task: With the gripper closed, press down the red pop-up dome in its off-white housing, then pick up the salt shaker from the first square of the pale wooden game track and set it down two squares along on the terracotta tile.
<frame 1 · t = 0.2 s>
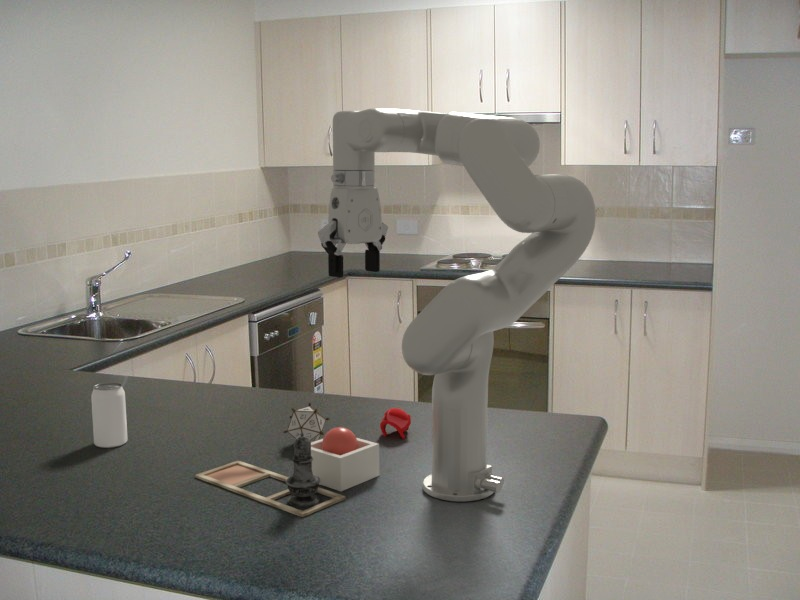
hand: (354, 273, 164), 36 cm above the worktop, tool pointing down, fingers open, 9 cm apart
game die: (307, 445, 179), on the worktop
dome housing: (340, 476, 161), on the worktop
can: (111, 444, 180), on the worktop
game track: (267, 487, 156), on the worktop
pop dome: (339, 445, 160), point 6 cm above the worktop, slide at 0.0 cm
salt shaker: (303, 501, 150), resting in game track
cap: (396, 436, 185), on the worktop
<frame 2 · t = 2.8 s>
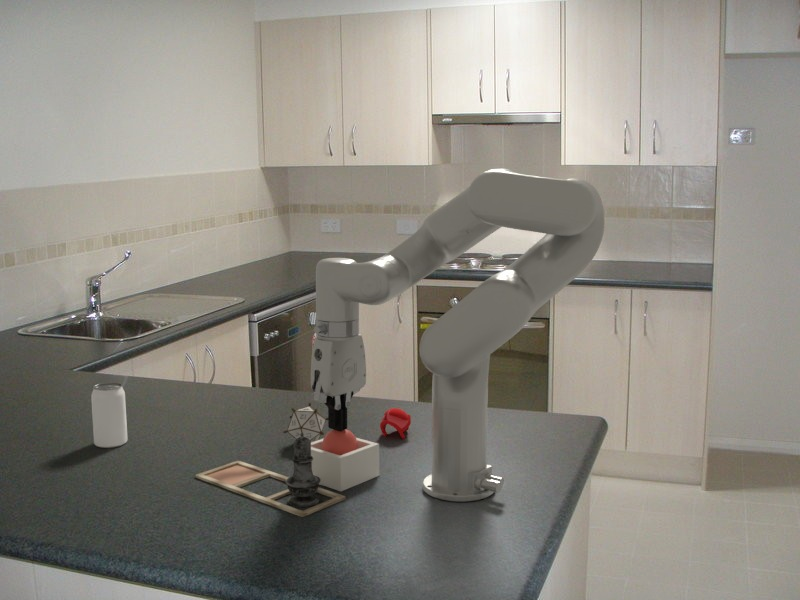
hand: (337, 428, 160), 9 cm above the worktop, tool pointing down, fingers closed
pop dome: (339, 446, 160), point 6 cm above the worktop, slide at 0.2 cm, touching gripper
everything else where it was.
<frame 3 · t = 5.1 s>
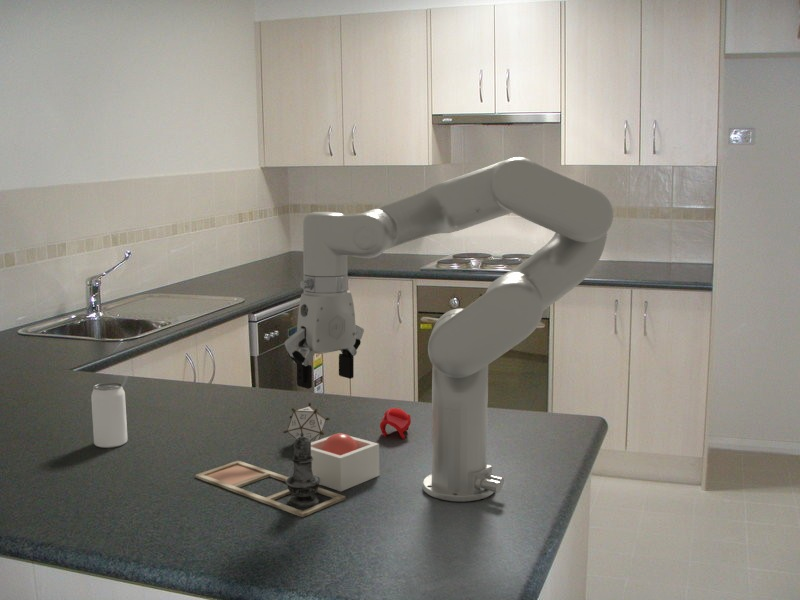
hand: (325, 381, 155), 19 cm above the worktop, tool pointing down, fingers open, 9 cm apart
pop dome: (339, 451, 160), point 5 cm above the worktop, slide at 1.2 cm
everything else where it was.
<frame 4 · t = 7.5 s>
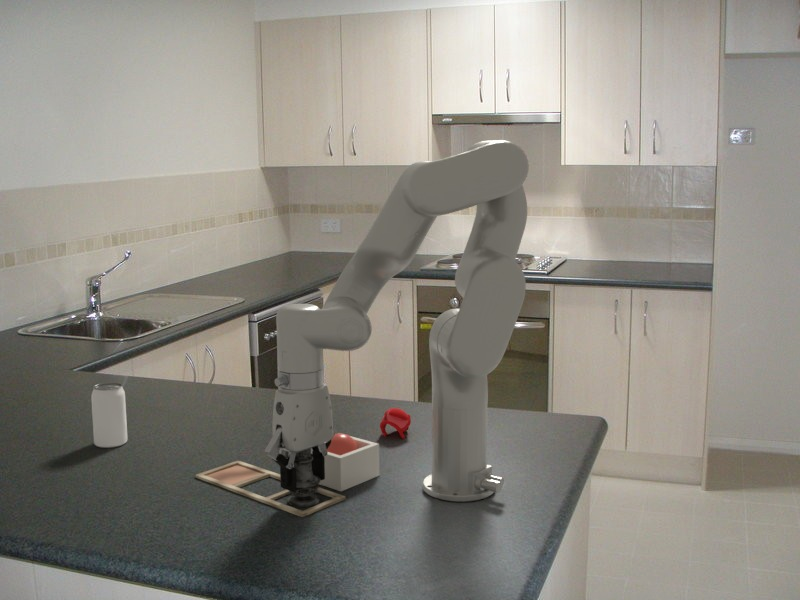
hand: (303, 482, 149), 3 cm above the worktop, tool pointing down, fingers closed on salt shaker, 5 cm apart
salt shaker: (303, 501, 150), resting in game track, touching gripper
everything else where it was.
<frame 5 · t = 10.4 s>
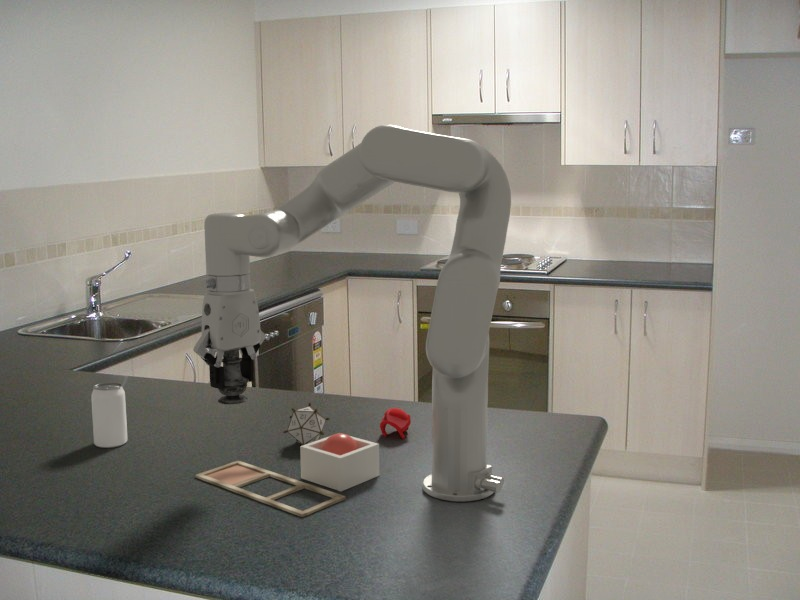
hand: (232, 383, 159), 17 cm above the worktop, tool pointing down, fingers closed on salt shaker, 5 cm apart
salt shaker: (232, 401, 159), point 14 cm above the worktop, touching gripper
everything else where it was.
when the fingers open (5 cm above the worktop, at t = 13.2 s): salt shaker drops 1 cm, resting on game track.
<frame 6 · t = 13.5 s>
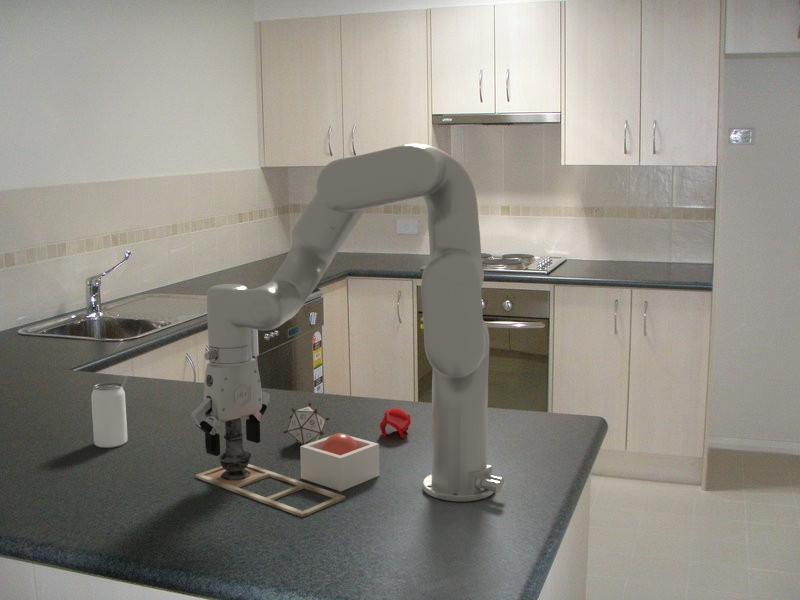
hand: (233, 447, 161), 5 cm above the worktop, tool pointing down, fingers open, 8 cm apart
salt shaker: (235, 476, 161), resting on game track
everything else where it was.
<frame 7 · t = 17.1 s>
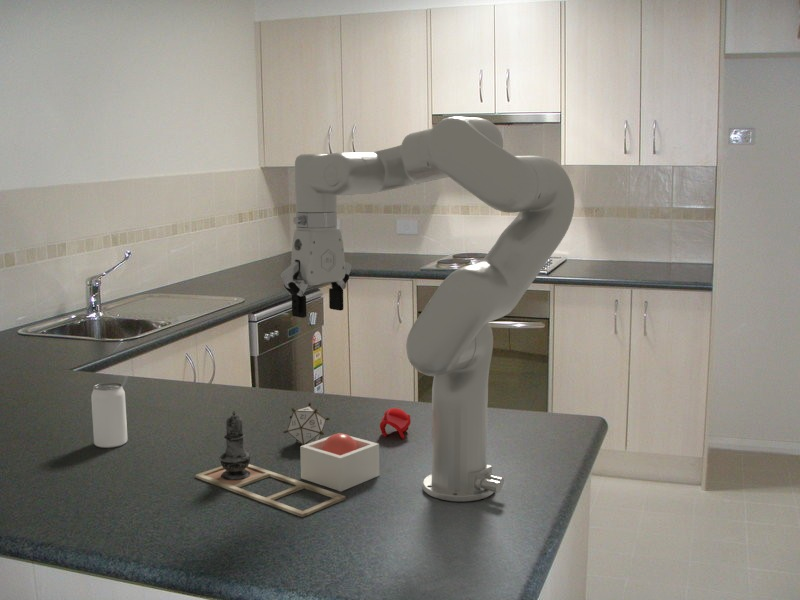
hand: (318, 313, 166), 28 cm above the worktop, tool pointing down, fingers open, 9 cm apart
nothing on the worktop moved.
at the end: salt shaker 0.2 cm from the target spot, resting on game track; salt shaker tilted 0°; the gripper is holding nothing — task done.
